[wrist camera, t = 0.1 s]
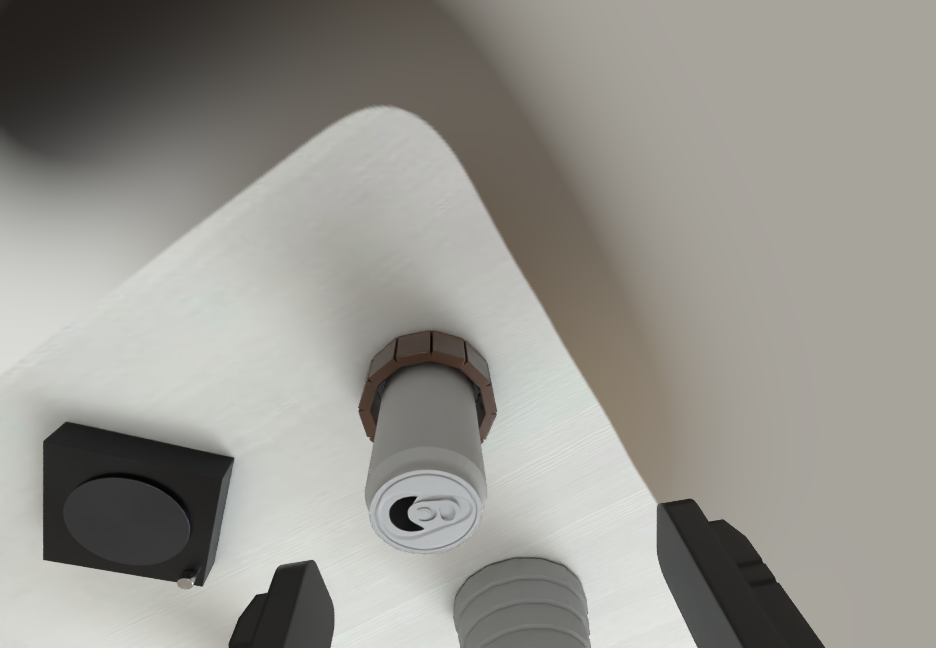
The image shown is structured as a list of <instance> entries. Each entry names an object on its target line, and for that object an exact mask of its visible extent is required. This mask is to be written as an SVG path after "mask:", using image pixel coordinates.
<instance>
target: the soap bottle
mask: <svg viewBox="0 0 936 648" xmlns="http://www.w3.org/2000/svg"><path fill="white" fill-rule="evenodd" d="M587 614H588V608H587V600H586V597H585V594H584V591H583V587H582V584H581V582H580V581H579V580H578V579H577V578H576V577H575V576H574V575H573V574H572V573H571V572H569V571H568V570H567V569H566V568H565V567H564V566H562V565H559V564H556V563H553V562H550V561H547V560H544V559H534V558H514V559H510V560H507V561H503V562H500V563H496V564H492V565H489V566H487V567H486V568H484V569H483V570H481V571H479V572H478V573H476V574H475V575H473V576H472V577H470V578H469V579H468V580H467V581H466V583H465V584H464V586H463V587H462V588H461V590H460V591H459V593H458V594H457V596H456V599H455V606H454V616H453V618H454V623H455V627H456V631H457V633H458V639H459V643H460V648H591V644H590V639H589V635H590V630H589V622H588V617H587Z"/></svg>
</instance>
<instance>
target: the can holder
mask: <svg viewBox="0 0 936 648" xmlns="http://www.w3.org/2000/svg"><path fill="white" fill-rule="evenodd" d="M428 361H433V362H436V363H440V364H444V365H447V366H451V367H455V368H458V369H461V370H462V371H463V372H464V373H465V374H466V375H467V376H468V377H469V378H470V379H471V380H472V381H473V382H474V383H475V384H476V385H477V386H478V387H479V388H480V390H481V393H480V396H479V398H478V401H477V403H476V412H477V419H478V427H479V434H480V441H481V444H482V443H483V442H484V441H483V439H486V438H487V436H488V433H489V431H490V429H491V427H492V424H493V422H494V420H495V417H496V412H497V409H496V404H495V398H494V393H493V388H492V383H491V378H490V373H489V368H488V364H486V360H485V359H484V358H483V357H482V356H481V355H480V354H479V353H478V352H477V351H476V350H475V349H474V348H473V347H472V346H471V345H470V344H469V343H468V342H467V341H465V342H463V339H461V338H457V337H454V336H450V335H447V334H443V333H440V332H436V331H433V333H432V336H431V332H430V331H425V332H420V333H415V334H410V335H405V336H400V337H399V340H398V339H397V338H396V339H394V340H393V341H392V342H391V343H390V344H389V345H387V346H386V347H385V348H384V349H383V350H381V351H380V352H379V353H378V354H377V355H375V356H374V359H372V361H371V364H370V368H369V371H368V374H367V378H366V381H365V384H364V388H363V392H362V396H361V400H360V403H359V407H358V408H359V414H360V417H361V420H362V423H363V426H364V429H365V432H366V435H367V437H370V441H372V442H373V443H374V438H375V433H376V427H377V422H378V416H379V410H380V405H381V403H380V399H379V396H378V393H377V388H378V385H379V384H380V383H382V382H383V381H384V380H385V379H386V378H388V377H389V376H390V375H391V374H393V373H394V372H395V371H396V370H397V369H399V368H400V367H403V366H408V365H413V364H418V363H423V362H428Z"/></svg>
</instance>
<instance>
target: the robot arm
mask: <svg viewBox="0 0 936 648" xmlns="http://www.w3.org/2000/svg"><path fill="white" fill-rule="evenodd" d="M657 555H658V560H659V564H660V567H661V571H662V573H663V576H664V578H665V581H666V583H667V585H668V587H669V589H670V591H671V593H672V595H673V597H674V599H675V601H676V604H677V606H678V608H679V610H680V612H681V614H682V616H683V618H684V620H685V622H686V624H687V627H688V629H689V631H690V633H691V635H692V637H693V639H694V641H695V643H696V645H697V647H698V648H825V647H824V645H823V644H822V642H821V641H820V640H819V639H818V637H817V635H816V634H815V633H814V631H813V630H812V629H811V627H810V626H809V624H808V623H807V621H806V620H805V619H804V617H803V616H802V614H801V613H800V612H799V610H798V609H797V607H796V606H795V605H794V603H793V602H792V600H791V599H790V598H789V596H788V595H787V593H786V592H785V591H784V589H783V588H782V586H781V585H780V584H779V583H777V582H776V579H775V577H774V575H773V574H772V572H771V571H770V570H769V568H768V567H767V566H766V564H764V563H763V562H762V558H761V557H760V556H759V554H758V553H757V551H756V550H755V549H754V547H753V546H752V544H751V543H750V542H749V540H748V539H747V538H746V536H744V535H743V534H742V533H740V532H739V531H738V530H736V529H735V528H734V527H733V526H731V525H730V524H729V523H727V522H726V521H725V520H723V519H722V520H716V521H711V522H709V521H708V520H707V518H706V517H705V515H704V514H703V512H702V511H701V509H700V507H699V506H698V505H697V503H696V502H695V501H694V500H692V499H685V500H679V501H673V502H667V503H661V504H658V506H657ZM333 631H334V607H333V603H332V600H331V597H330V595H329V593H328V590H327V588H326V585H325V583H324V581H323V578H322V576H321V574H320V571H319V569H318V567H317V564H316V563H315V561H313V560H308V561H302V562H296V563H290V564H284V565H280V566H279V567H278V568H277V569H276V571H275V573H274V576H273V579H272V582H271V585H270V588H269V590H268V593H264V594H258V595H256V596H255V597H254V598H253V600H252V601H251V602H250V604H249V605H248V606H247V608H246V609H245V610H244V612H243V613H242V615H241V616H240V617H239V619H238V621H237V624H236V626H235V629H234V631H233V634H232V637H231V639H230V642H229V644H228V645H229V648H330V647H331V642H332V637H333Z"/></svg>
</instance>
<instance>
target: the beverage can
mask: <svg viewBox="0 0 936 648" xmlns="http://www.w3.org/2000/svg"><path fill="white" fill-rule="evenodd" d="M486 498H487V484H486V477H485V470H484V463H483V455H482V448H481V441H480V434H479V427H478V419H477V412H476V405H475V398H474V390H473V385H472V382H471V379H470V378H469V377H468V376H467V375H466V374H465V373H464V372H463V371H462V370H461V369H458V368H455V367H451V366H447V365H444V364H440V363H436V362H433V361H428V362H423V363H418V364H413V365H408V366H403V367H400V368H399V369H397V370H396V371H395V372H394V373H393V374H391V375H390V376H389V377H388V378H387V379H386V382H385V384H384V388H383V394H382V399H381V405H380V410H379V416H378V422H377V427H376V433H375V438H374V444H373V449H372V455H371V460H370V466H369V472H368V477H367V483H366V489H365V500H366V505H367V508H368V510H369V516H370V522H371V524H372V527H373V529H374V531H375V532H376V534H377V535H378V536H379V537H380V538H381V539H382V540H383V541H384V542H386V543H387V544H389V545H390V546H392V547H394V548H396V549H398V550H401V551H404V552H408V553H413V554H435V553H440V552H444V551H447V550H450V549H453V548H455V547H457V546H459V545H460V544H462V543H464V542H465V541H466V540H467V539H469V538H470V537H471V536H472V535H473V533H474V532H475V531H476V529H477V528H478V526H479V523H480V521H481V517H482V510H483V508H484V506H485V503H486Z"/></svg>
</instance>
